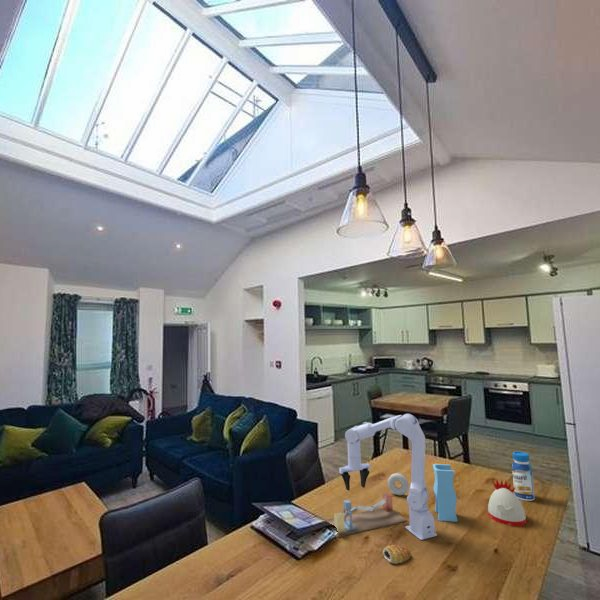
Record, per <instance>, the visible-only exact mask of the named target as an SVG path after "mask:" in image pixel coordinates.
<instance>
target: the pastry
mask: <svg viewBox="0 0 600 600" xmlns="http://www.w3.org/2000/svg"><path fill="white" fill-rule="evenodd" d="M382 555H383V557H384V558H385V559H386V560H387V562H389V563H390V564H392V565H398V564H403V563H405V562H406V561H408V560H410V558H411V556H412V554H411V551H410V549H409V548H408V547H406V546H402V545H398V544H391V545H389V544H388V545H386V546H385V547H384V548H383V550H382Z"/></svg>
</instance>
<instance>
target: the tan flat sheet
mask: <svg viewBox="0 0 600 600" xmlns="http://www.w3.org/2000/svg"><path fill="white" fill-rule="evenodd" d="M324 520H325V521H327V522H329V523H330V524H332V525H334V517H333V518H327V519H324ZM346 521H350V515H349V516H348V517H346ZM406 522H408V520H407V519H406V518H405V517H403V515H401V514H399V513H398V512H396V511H395V510H394V509H393V511H389V512H386V511H385V510H384V509H383V507H378V508H377V509H376V510H374V511H365V510H364V511H360V512H357V513H352V524H353V525H354V526H355V527H356V529H355V530H351V531H346V530H345V533H343V534H339V535H338V534H336V535H335V536H334V537H335V538H336V539H339V538H342V537H347V536H350V535H355V534H359V533H363V532H368V531H372V530H376V529H377V530H378V529H380V528H385V527H389V526H393V525H398V524H401V523H406Z"/></svg>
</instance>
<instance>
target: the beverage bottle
mask: <svg viewBox="0 0 600 600" xmlns="http://www.w3.org/2000/svg"><path fill="white" fill-rule="evenodd" d="M512 459H513V463H512V465H511V468H512V471H511V473H512V480H513V481H512V482H513V488H514V487H515V490H514V492H513V493H514V494H515V495H516V496H517V497H518V499H519V500H520V501H527V502H531V501H534V500H535V499H536V496H535V488H534V487H535V486H534V474H533V468H532V466H531V464H530V461H531V459H530V454H529V453H527V452H524V451H513V452H512Z"/></svg>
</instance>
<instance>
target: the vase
mask: <svg viewBox="0 0 600 600" xmlns="http://www.w3.org/2000/svg"><path fill="white" fill-rule="evenodd" d="M432 467H433V471H434V483H433V488H432V489H433V492H434V493H433V494H434V496H435V497H434V498H435V508H434V512H435V513H438V514H437V515H438V516H437V521H440V522H441V521H443V522H456V523H457V522H458V517H457V510H456V509H457V508H456V505H457V500H458V498H457V493H456V491H455V488H454V475H455V470H451V468H452V465H451V464H444V463H443V464H442V463H433V464H432Z"/></svg>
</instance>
